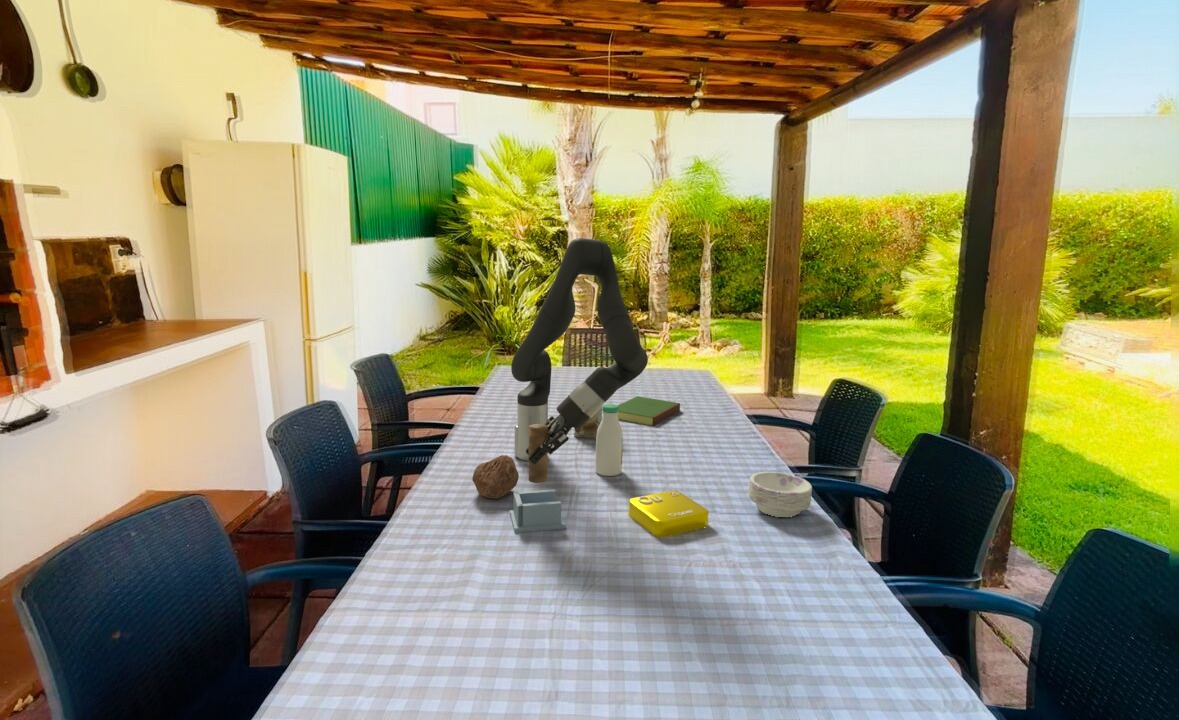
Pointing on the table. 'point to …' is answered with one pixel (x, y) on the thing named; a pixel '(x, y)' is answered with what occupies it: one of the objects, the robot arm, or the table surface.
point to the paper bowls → (779, 493)
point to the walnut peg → (535, 439)
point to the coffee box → (590, 426)
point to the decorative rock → (496, 477)
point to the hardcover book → (647, 410)
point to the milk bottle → (609, 443)
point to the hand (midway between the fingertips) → (529, 457)
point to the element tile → (668, 513)
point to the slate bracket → (536, 511)
